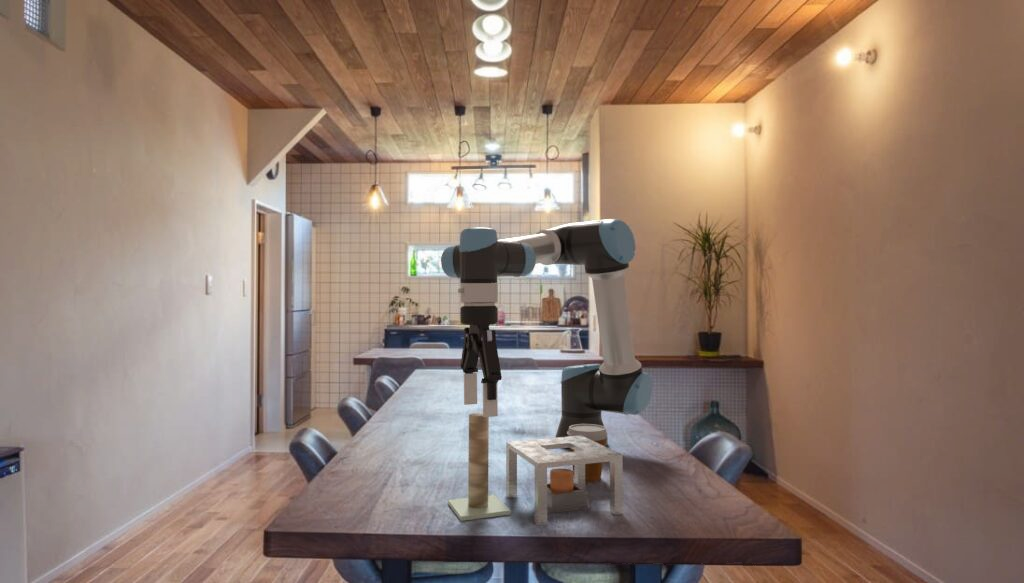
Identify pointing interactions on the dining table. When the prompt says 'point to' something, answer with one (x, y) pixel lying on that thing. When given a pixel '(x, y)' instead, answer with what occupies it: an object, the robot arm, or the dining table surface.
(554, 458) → the stand
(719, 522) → the dining table surface
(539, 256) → the robot arm
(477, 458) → the rod
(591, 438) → the disposable coffee cup
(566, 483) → the button
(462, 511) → the pad
